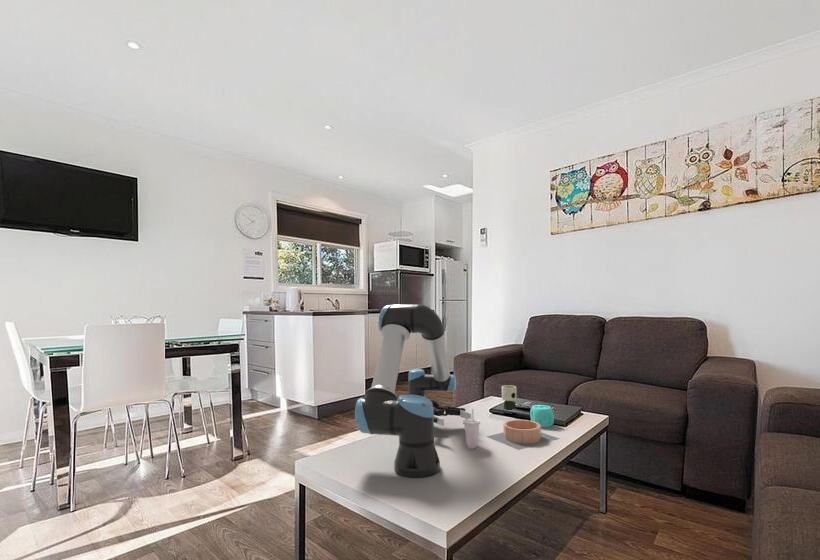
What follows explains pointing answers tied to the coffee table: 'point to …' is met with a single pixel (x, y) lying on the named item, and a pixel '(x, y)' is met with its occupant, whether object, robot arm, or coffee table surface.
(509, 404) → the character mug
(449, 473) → the coffee table surface
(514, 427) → the bowl
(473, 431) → the smoothie
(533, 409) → the decorative dice
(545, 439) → the mat
